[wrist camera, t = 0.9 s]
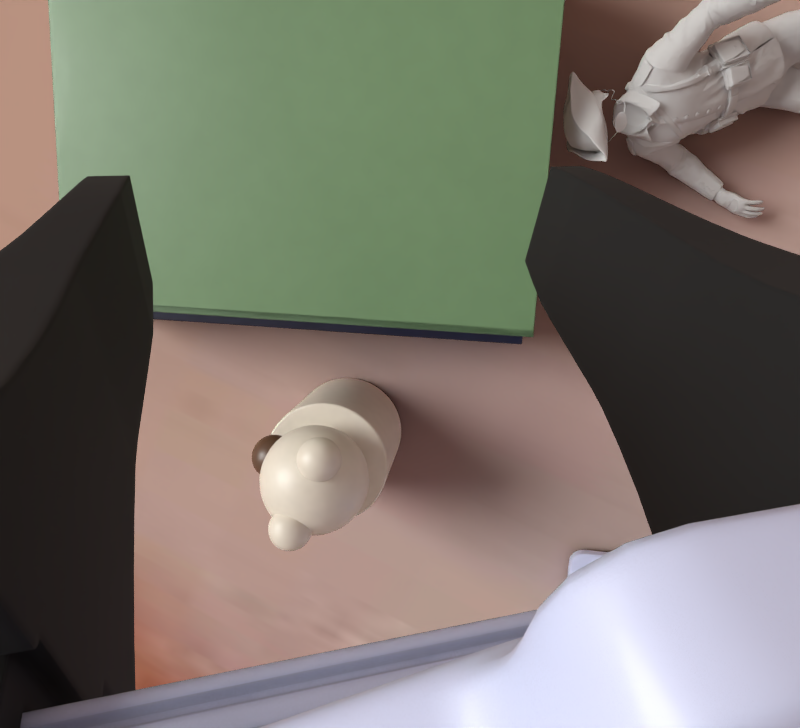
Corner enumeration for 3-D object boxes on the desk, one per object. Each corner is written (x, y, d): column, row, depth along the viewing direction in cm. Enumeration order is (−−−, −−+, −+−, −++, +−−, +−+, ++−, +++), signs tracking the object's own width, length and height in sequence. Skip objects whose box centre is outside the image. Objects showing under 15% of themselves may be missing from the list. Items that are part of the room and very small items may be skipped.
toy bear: (418, 404, 24) (394, 470, 17) (377, 495, 25) (338, 594, 18) (317, 359, 24) (253, 407, 17) (281, 452, 25) (205, 533, 18)
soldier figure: (922, 161, 21) (623, 297, 20) (811, 97, 24) (542, 212, 23) (1089, -108, 15) (673, 60, 14) (913, -151, 18) (552, -17, 17)
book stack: (521, 334, 23) (531, 355, 19) (125, 308, 25) (52, 321, 21) (554, -38, 21) (575, -110, 16) (113, -39, 22) (27, -105, 18)
